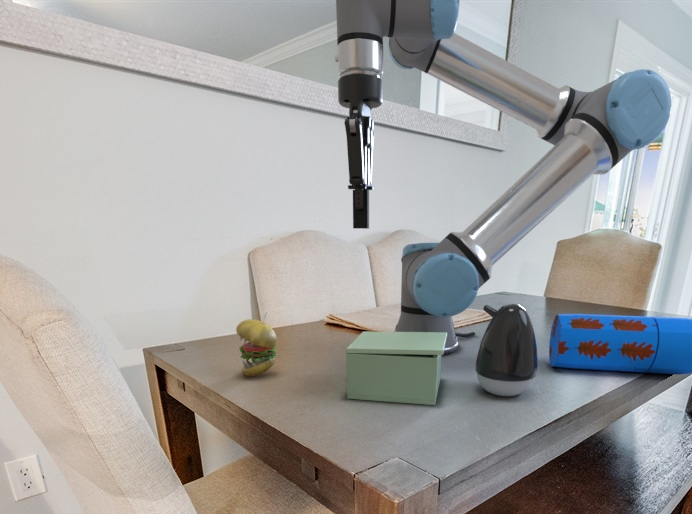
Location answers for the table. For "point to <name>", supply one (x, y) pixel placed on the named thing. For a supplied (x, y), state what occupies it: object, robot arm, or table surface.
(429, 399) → the keepsake box
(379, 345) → the lid
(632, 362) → the thermos
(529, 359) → the pump dispenser
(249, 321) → the hamburger
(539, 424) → the table surface
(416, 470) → the table surface
